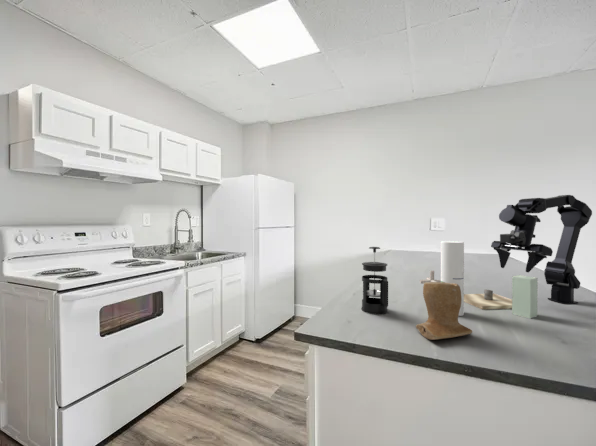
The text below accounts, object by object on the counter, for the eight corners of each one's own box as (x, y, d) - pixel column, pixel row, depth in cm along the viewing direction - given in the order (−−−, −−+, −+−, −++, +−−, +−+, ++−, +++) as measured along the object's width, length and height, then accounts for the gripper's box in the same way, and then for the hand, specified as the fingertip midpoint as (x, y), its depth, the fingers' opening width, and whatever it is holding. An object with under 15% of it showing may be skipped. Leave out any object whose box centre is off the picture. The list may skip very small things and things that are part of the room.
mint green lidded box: (519, 311, 100) (519, 275, 100) (537, 315, 96) (537, 277, 96) (512, 314, 98) (512, 276, 98) (530, 318, 93) (530, 279, 93)
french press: (355, 307, 106) (355, 246, 106) (375, 304, 109) (375, 245, 109) (375, 317, 95) (375, 249, 95) (397, 313, 99) (397, 248, 98)
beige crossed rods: (439, 290, 131) (439, 268, 131) (448, 296, 121) (448, 272, 121) (416, 289, 132) (416, 268, 132) (424, 295, 122) (424, 272, 122)
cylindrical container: (467, 316, 95) (467, 242, 95) (444, 315, 97) (444, 242, 97) (459, 309, 102) (459, 241, 102) (438, 308, 104) (438, 240, 104)
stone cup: (444, 323, 89) (444, 276, 89) (479, 338, 78) (479, 284, 78) (404, 329, 85) (404, 279, 84) (435, 346, 73) (435, 288, 73)
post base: (493, 296, 120) (493, 285, 120) (527, 307, 104) (527, 295, 104) (453, 297, 119) (454, 286, 119) (482, 309, 103) (482, 296, 103)
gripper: (485, 223, 113) (476, 260, 112) (536, 224, 95) (524, 268, 94) (505, 231, 116) (496, 268, 115) (558, 233, 98) (547, 277, 97)
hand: (514, 269), depth 105 cm, fingers open, 9 cm apart
